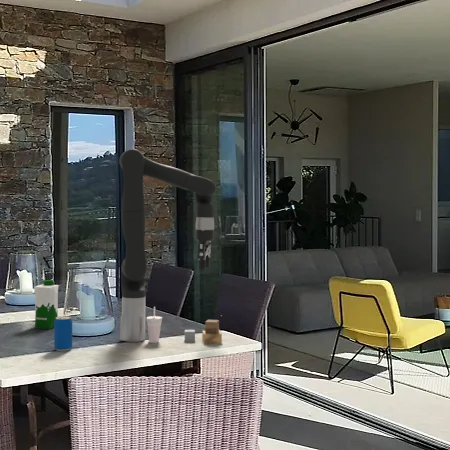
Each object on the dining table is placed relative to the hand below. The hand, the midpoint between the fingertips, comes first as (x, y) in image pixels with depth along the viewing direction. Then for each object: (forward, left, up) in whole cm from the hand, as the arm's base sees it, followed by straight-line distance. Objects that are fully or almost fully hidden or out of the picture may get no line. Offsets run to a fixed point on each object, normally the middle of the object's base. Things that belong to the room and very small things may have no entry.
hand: (204, 268), depth 272 cm
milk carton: (-70, +3, -28) cm, 76 cm away
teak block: (+5, -8, -28) cm, 30 cm away
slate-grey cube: (-4, -8, -28) cm, 30 cm away
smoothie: (-17, -14, -28) cm, 36 cm away
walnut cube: (+5, -8, -24) cm, 26 cm away
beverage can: (-46, -34, -28) cm, 64 cm away
